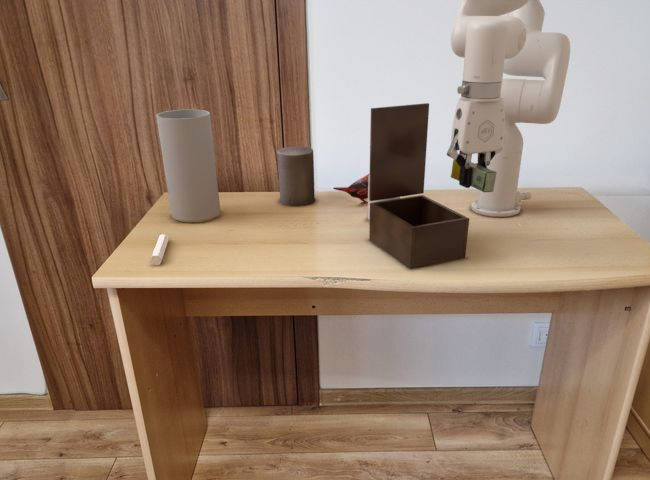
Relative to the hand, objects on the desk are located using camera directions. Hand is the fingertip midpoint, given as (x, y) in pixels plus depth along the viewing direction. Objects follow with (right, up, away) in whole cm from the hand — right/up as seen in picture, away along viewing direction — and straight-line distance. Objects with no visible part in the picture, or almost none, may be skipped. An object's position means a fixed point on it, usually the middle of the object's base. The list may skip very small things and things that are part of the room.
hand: (471, 184), depth 130 cm
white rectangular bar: (-68, -13, +10) cm, 70 cm away
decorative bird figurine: (-22, +4, +37) cm, 43 cm away
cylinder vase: (-65, 0, +31) cm, 72 cm away
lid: (-15, +9, +6) cm, 18 cm away
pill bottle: (-17, -2, +27) cm, 32 cm away
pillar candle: (-39, +6, +41) cm, 57 cm away
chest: (-11, -12, +9) cm, 18 cm away
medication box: (0, 0, 0) cm, 0 cm away
